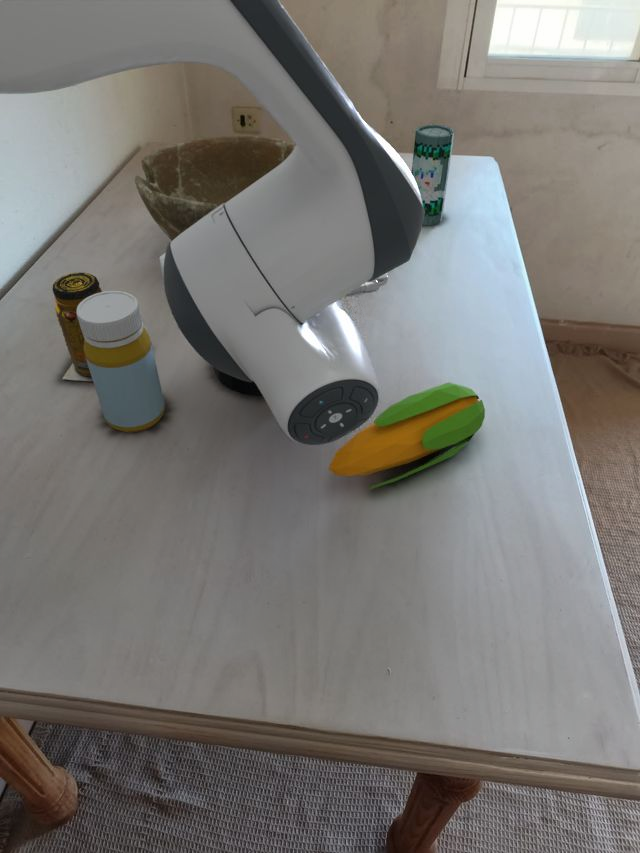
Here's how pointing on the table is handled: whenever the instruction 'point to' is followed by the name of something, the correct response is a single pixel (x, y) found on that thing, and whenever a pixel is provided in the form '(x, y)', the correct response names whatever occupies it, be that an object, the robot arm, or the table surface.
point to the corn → (413, 432)
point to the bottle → (121, 361)
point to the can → (432, 168)
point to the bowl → (204, 176)
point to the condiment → (74, 318)
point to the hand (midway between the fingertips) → (254, 233)
